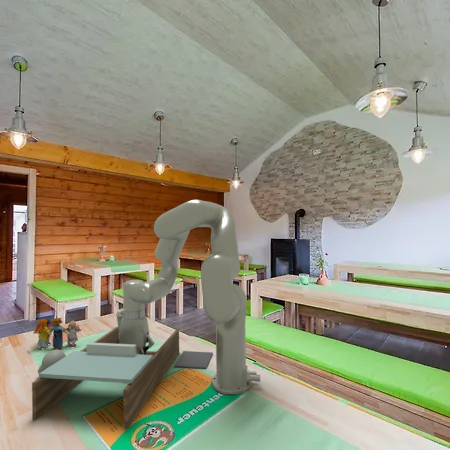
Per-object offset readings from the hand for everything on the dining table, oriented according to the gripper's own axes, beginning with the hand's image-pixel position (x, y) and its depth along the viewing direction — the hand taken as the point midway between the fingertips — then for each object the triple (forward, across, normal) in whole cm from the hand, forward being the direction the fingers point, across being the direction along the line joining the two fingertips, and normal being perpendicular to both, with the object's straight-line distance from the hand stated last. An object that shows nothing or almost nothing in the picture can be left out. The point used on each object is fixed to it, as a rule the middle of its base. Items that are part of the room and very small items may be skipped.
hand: (135, 362), depth 102 cm
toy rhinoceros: (+1, -23, -10) cm, 26 cm away
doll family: (+1, -42, +10) cm, 43 cm away
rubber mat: (+1, +21, +6) cm, 22 cm away
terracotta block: (+1, 0, 0) cm, 1 cm away
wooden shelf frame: (+1, 0, -10) cm, 10 cm away
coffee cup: (+1, -18, +27) cm, 33 cm away
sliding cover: (-9, 0, -22) cm, 24 cm away
